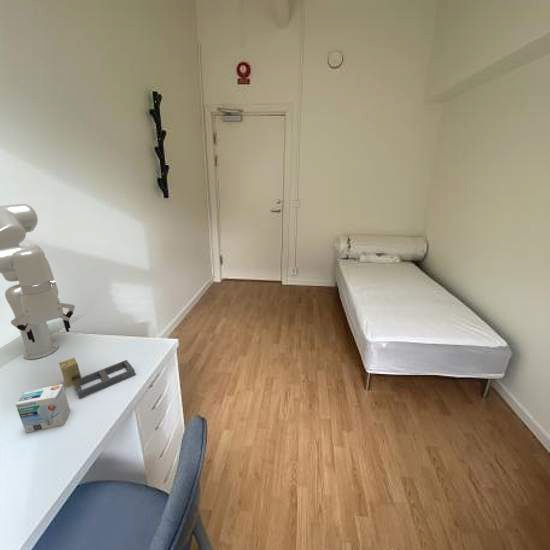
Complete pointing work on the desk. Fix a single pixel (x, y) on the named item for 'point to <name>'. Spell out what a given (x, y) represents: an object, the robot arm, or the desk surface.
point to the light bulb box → (43, 408)
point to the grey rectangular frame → (103, 378)
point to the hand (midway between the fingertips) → (51, 335)
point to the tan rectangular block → (70, 371)
